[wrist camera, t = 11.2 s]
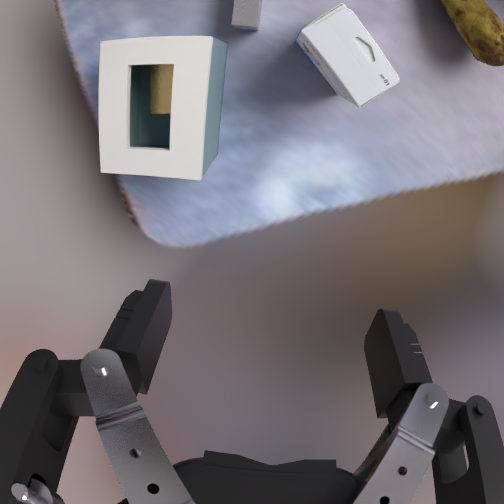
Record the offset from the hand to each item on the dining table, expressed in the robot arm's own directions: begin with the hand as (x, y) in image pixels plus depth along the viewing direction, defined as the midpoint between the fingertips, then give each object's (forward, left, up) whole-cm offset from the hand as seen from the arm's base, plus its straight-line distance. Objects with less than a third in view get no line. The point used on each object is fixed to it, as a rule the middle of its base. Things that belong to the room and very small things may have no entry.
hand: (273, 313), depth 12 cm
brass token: (-6, -13, -29) cm, 33 cm away
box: (-4, -12, -30) cm, 33 cm away
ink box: (-11, +5, -30) cm, 33 cm away
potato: (-22, +21, -30) cm, 43 cm away
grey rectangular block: (-16, -5, -30) cm, 35 cm away
